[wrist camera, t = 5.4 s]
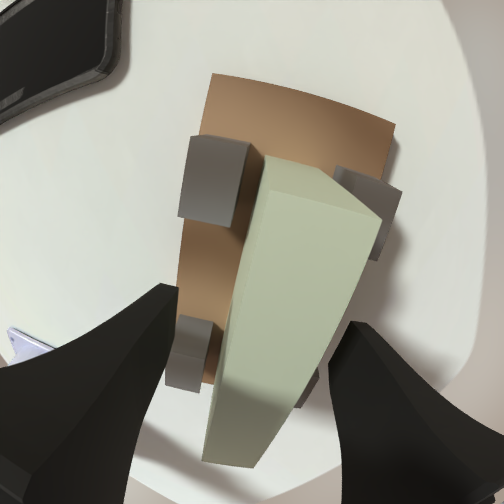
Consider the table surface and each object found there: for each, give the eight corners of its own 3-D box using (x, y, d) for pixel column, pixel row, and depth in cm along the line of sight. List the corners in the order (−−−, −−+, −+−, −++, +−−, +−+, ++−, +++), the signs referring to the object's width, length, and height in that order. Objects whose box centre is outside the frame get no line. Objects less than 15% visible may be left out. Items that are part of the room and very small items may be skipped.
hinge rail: (288, 383, 16) (291, 430, 13) (173, 362, 16) (159, 408, 13) (385, 123, 10) (429, 126, 7) (216, 77, 10) (197, 57, 6)
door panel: (256, 364, 14) (253, 468, 9) (218, 357, 14) (201, 461, 9) (318, 168, 10) (382, 220, 5) (265, 154, 10) (269, 189, 4)
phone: (-47, 56, 6) (122, -57, 5) (-37, 56, 7) (130, -48, 7) (-50, 155, 10) (112, 74, 9) (-40, 152, 11) (124, 77, 10)
